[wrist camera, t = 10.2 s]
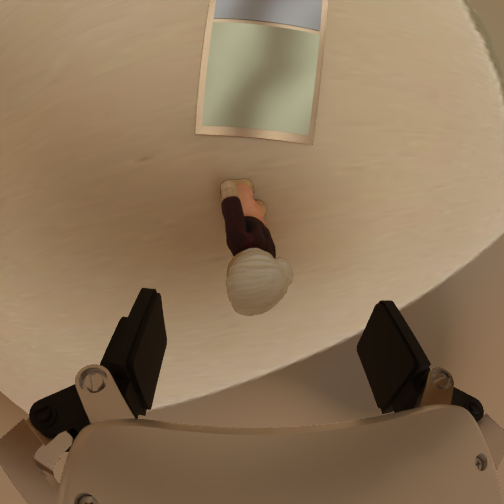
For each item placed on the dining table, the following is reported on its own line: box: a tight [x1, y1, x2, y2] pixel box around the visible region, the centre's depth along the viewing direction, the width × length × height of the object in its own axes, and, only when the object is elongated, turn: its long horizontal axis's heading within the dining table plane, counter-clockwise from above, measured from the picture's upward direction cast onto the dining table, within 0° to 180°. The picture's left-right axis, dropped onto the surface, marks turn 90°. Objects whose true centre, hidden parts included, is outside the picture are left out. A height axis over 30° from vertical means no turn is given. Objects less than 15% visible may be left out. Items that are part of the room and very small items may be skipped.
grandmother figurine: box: [220, 179, 293, 316], centre depth 18 cm, size 8×4×13 cm, turn 39°
